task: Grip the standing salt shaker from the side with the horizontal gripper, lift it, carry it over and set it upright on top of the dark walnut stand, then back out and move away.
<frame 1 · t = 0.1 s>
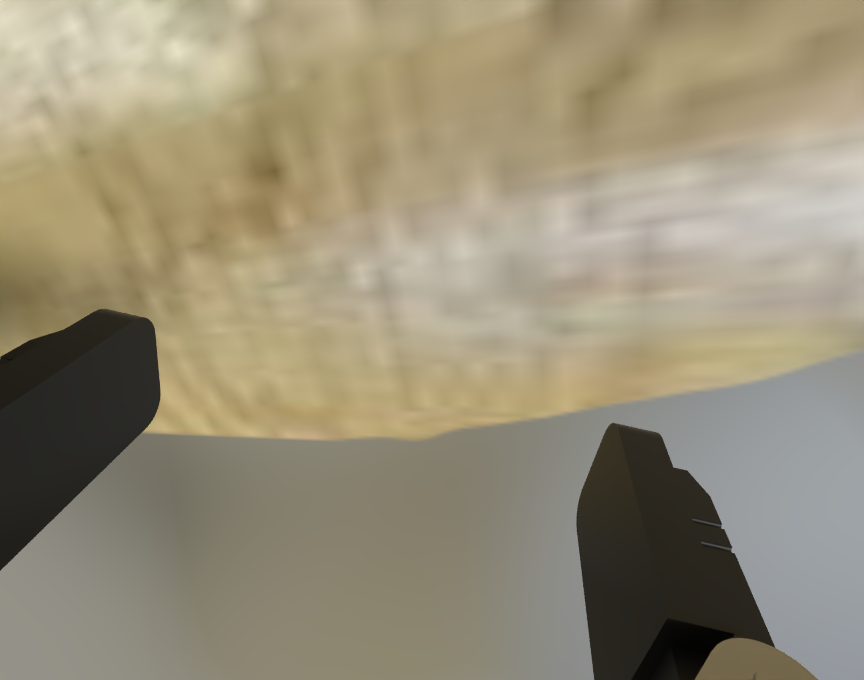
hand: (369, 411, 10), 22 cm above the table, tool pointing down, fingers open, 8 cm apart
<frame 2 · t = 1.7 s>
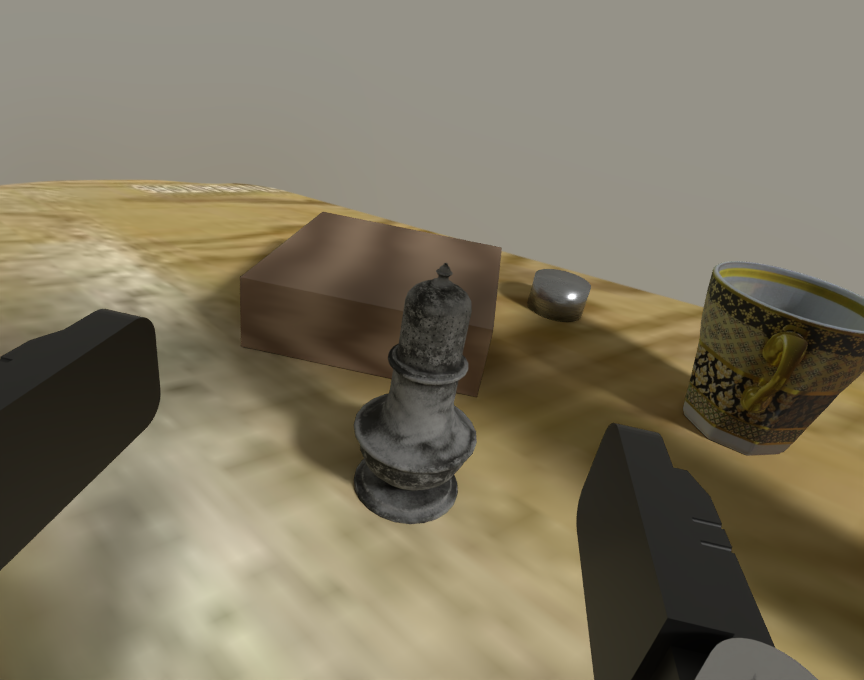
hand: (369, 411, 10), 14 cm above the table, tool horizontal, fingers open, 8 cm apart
walnut stand: (384, 319, 43), on the table
grey metal puck: (554, 310, 50), on the table
ceramic cup: (728, 437, 36), on the table
salt shaker: (405, 485, 28), on the table
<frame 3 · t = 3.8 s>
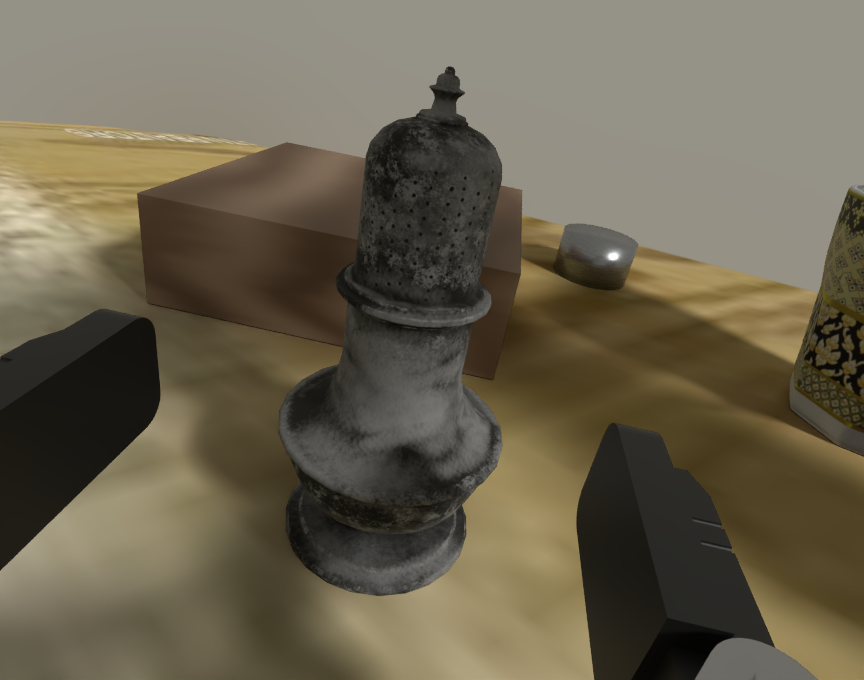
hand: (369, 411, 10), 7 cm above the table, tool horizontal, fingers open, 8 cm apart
walnut stand: (363, 277, 31), on the table
grey metal puck: (588, 276, 38), on the table
ceramic cup: (861, 442, 25), on the table
salt shaker: (377, 520, 16), on the table
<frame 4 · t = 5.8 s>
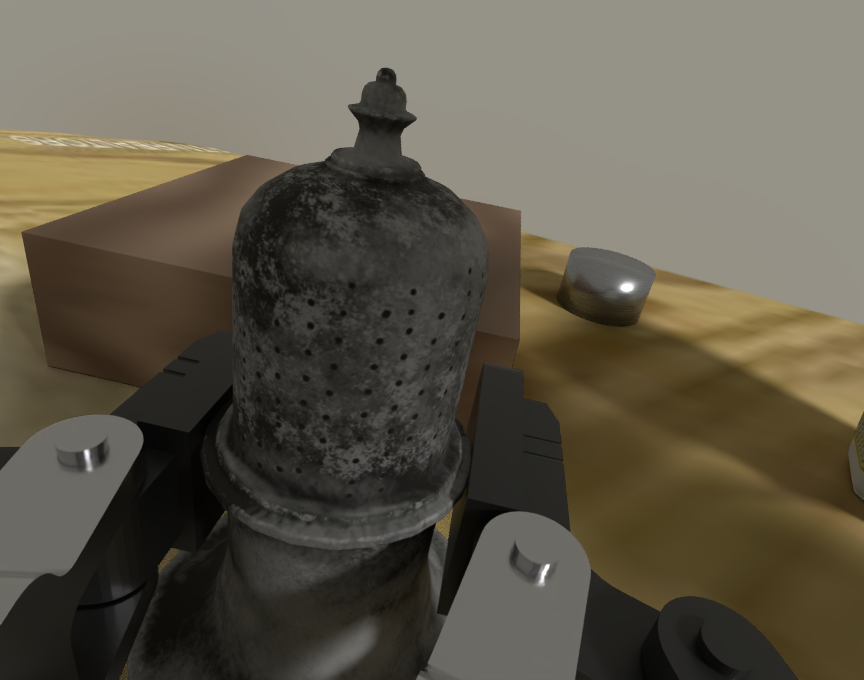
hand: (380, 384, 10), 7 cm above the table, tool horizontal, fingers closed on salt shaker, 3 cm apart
walnut stand: (331, 319, 26), on the table
grey metal puck: (596, 308, 33), on the table
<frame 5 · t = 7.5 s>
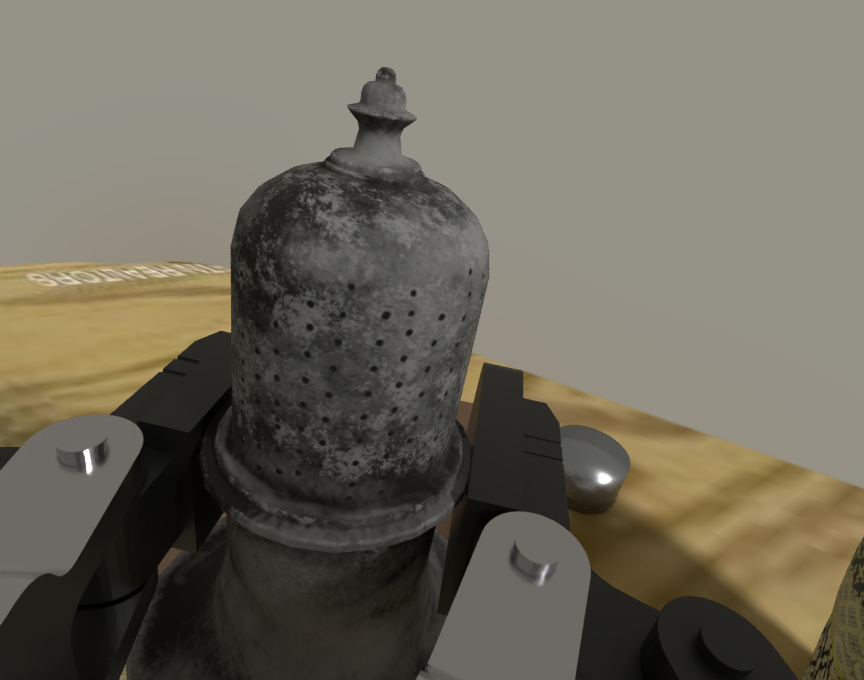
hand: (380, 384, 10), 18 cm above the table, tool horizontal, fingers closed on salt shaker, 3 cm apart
walnut stand: (324, 539, 28), on the table
grey metal puck: (576, 485, 35), on the table
when the fingers open (13 cm above the table, at t = 9.5 s): salt shaker drops 1 cm, resting on walnut stand.
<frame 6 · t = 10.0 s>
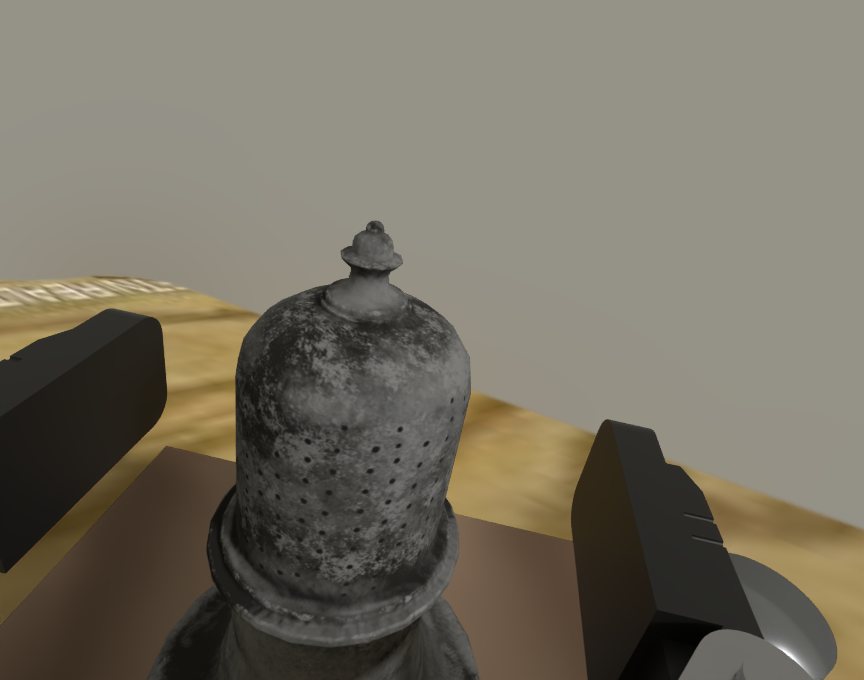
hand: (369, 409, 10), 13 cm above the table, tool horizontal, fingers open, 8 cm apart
grey metal puck: (725, 657, 21), on the table
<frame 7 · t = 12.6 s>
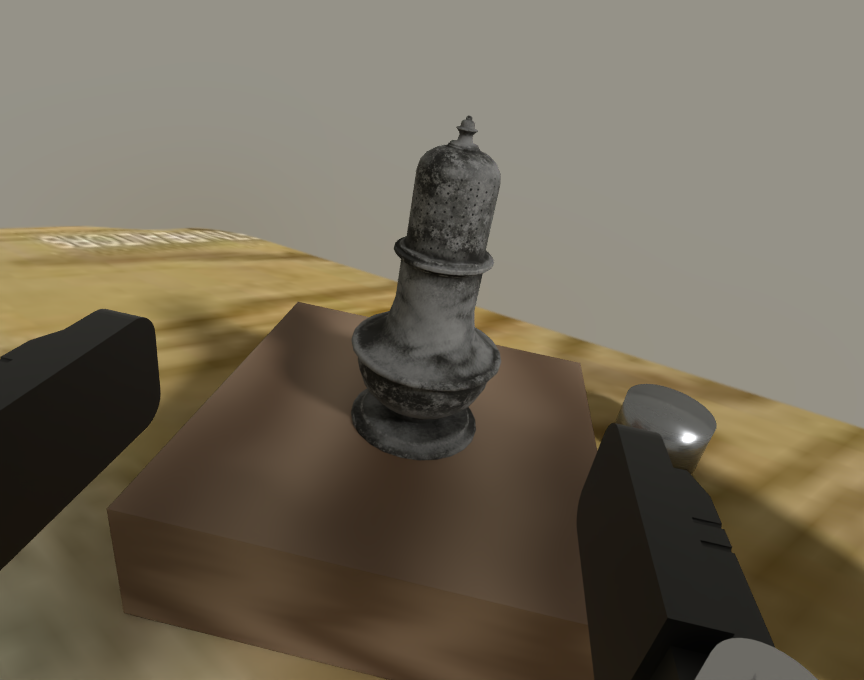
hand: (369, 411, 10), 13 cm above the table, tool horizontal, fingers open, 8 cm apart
walnut stand: (395, 500, 25), on the table
grey metal puck: (652, 448, 33), on the table
salt shaker: (413, 421, 23), point 5 cm above the table, touching walnut stand
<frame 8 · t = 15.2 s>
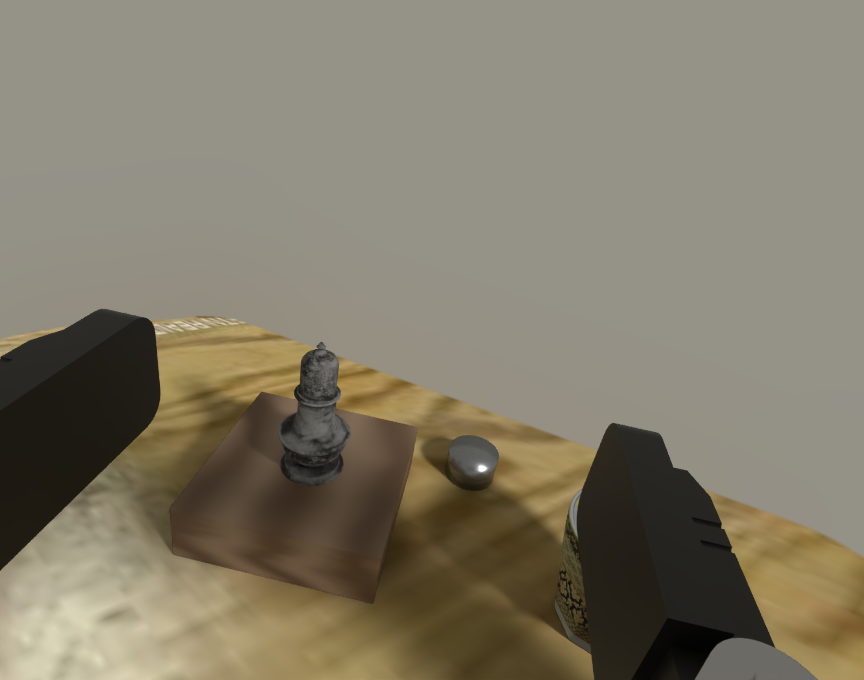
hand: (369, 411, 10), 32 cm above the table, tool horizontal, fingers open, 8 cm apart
walnut stand: (308, 504, 49), on the table
grey metal puck: (468, 473, 56), on the table
ceramic cup: (589, 634, 42), on the table
salt shaker: (312, 465, 47), point 5 cm above the table, touching walnut stand
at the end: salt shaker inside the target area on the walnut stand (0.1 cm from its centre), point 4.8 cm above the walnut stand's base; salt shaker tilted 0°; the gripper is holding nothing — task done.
